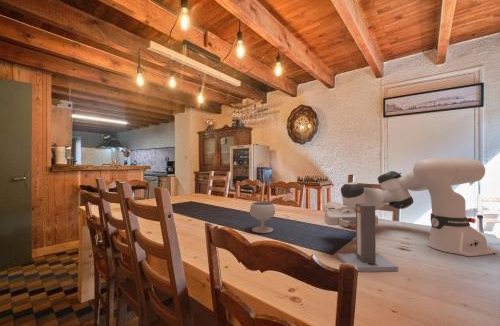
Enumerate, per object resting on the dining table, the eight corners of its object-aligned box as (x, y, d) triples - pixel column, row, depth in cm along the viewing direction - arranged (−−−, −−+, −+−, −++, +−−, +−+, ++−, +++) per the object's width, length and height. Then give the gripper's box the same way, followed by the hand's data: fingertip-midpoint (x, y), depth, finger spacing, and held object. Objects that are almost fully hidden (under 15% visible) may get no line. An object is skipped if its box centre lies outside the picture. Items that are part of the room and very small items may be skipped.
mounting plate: (377, 256, 89) (377, 252, 89) (398, 271, 77) (398, 266, 77) (337, 257, 89) (337, 253, 89) (351, 271, 77) (351, 267, 77)
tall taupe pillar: (367, 256, 86) (367, 203, 86) (375, 262, 81) (375, 205, 81) (355, 256, 86) (355, 203, 86) (362, 262, 81) (361, 206, 81)
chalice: (267, 226, 135) (267, 200, 136) (280, 232, 123) (279, 204, 123) (246, 228, 130) (245, 202, 130) (256, 235, 117) (256, 206, 117)
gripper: (367, 222, 100) (387, 231, 86) (321, 223, 99) (334, 232, 85) (367, 208, 100) (387, 215, 86) (321, 208, 99) (334, 215, 85)
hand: (360, 224), depth 86 cm, fingers open, 8 cm apart
